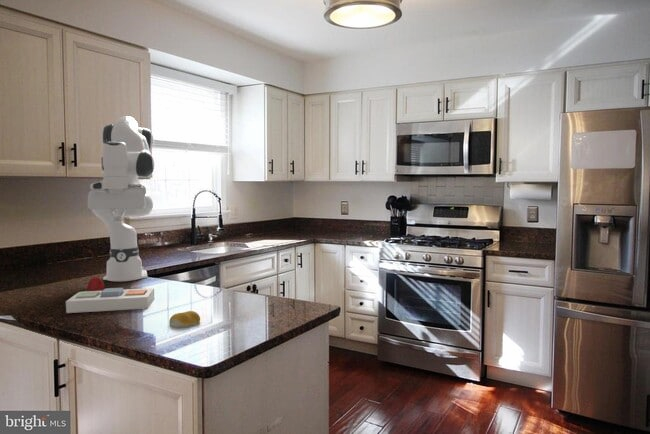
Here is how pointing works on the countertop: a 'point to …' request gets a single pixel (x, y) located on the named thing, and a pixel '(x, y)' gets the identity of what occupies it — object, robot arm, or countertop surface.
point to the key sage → (88, 295)
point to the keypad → (110, 302)
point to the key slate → (112, 292)
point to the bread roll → (184, 319)
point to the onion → (95, 284)
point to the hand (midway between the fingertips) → (118, 221)
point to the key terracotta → (136, 292)
